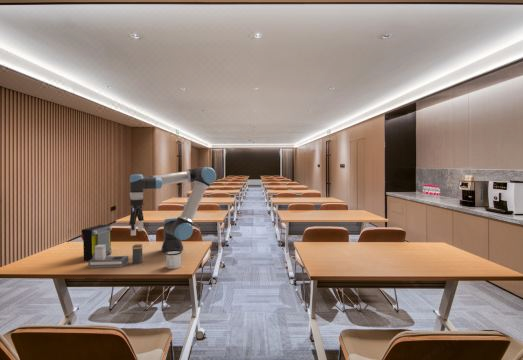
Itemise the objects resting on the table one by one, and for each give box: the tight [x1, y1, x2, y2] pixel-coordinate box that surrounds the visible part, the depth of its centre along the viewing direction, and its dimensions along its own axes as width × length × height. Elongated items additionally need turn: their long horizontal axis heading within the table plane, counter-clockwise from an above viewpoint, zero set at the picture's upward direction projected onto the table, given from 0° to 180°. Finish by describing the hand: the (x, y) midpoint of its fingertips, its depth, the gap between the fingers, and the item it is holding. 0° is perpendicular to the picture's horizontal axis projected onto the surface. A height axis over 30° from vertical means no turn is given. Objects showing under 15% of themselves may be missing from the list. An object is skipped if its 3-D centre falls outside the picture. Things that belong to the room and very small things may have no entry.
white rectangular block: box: [95, 245, 106, 260], centre depth 186 cm, size 5×5×11 cm
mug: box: [164, 250, 183, 270], centre depth 181 cm, size 12×10×9 cm
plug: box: [132, 243, 143, 265], centre depth 191 cm, size 5×5×11 cm
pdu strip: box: [87, 255, 130, 269], centre depth 186 cm, size 20×9×4 cm, turn 96°
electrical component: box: [80, 224, 113, 262], centre depth 202 cm, size 18×10×20 cm, turn 168°
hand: (136, 233), depth 190 cm, fingers open, 13 cm apart
